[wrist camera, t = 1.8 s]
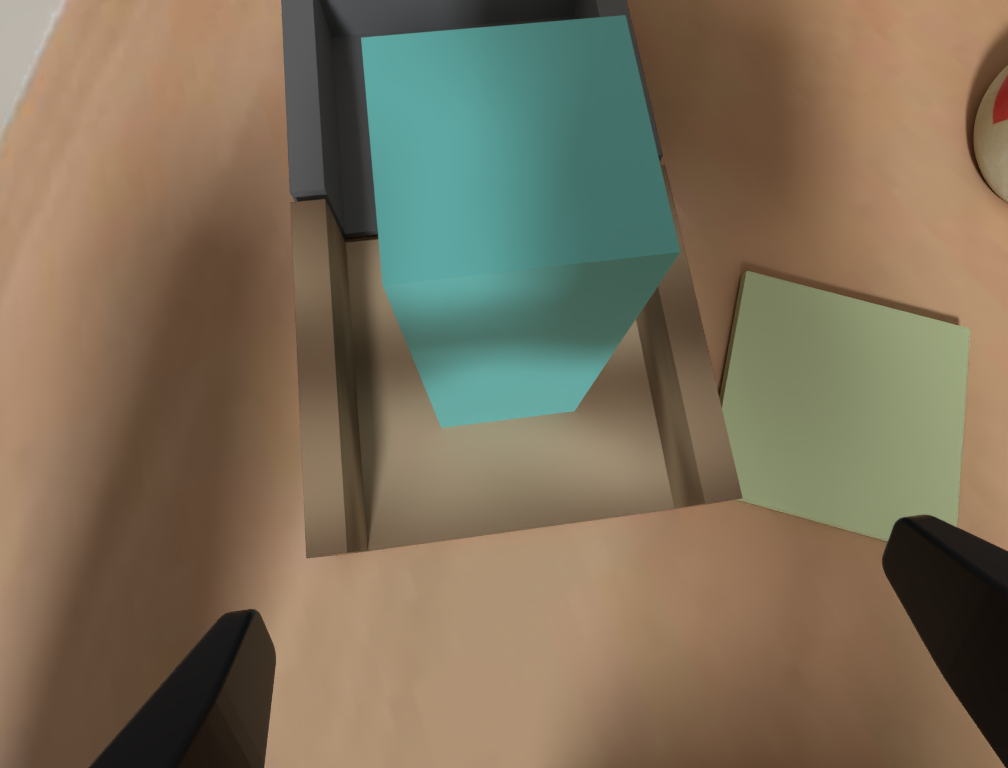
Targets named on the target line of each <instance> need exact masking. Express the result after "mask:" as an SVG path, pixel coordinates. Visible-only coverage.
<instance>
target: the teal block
mask: <svg viewBox="0 0 1008 768" xmlns="http://www.w3.org/2000/svg"><path fill="white" fill-rule="evenodd" d="M361 43H362V55H363V66H364V78H365V89H366V101H367V113H368V124H369V136H370V147H371V159H372V170H373V182H374V193H375V205H376V216H377V228H378V239H379V251H380V262H381V274H382V285H383V288H384V290H385V292H386V295H387V297H388V300H389V302H390V305H391V307H392V309H393V312H394V314H395V317H396V319H397V322H398V324H399V326H400V329H401V331H402V334H403V336H404V339H405V341H406V343H407V346H408V348H409V351H410V353H411V356H412V358H413V360H414V363H415V365H416V368H417V370H418V372H419V375H420V377H421V380H422V382H423V385H424V387H425V389H426V392H427V394H428V397H429V399H430V402H431V404H432V406H433V409H434V411H435V414H436V416H437V419H438V421H439V423H440V426H441V428H445V427H453V426H461V425H469V424H477V423H485V422H493V421H501V420H509V419H516V418H524V417H532V416H540V415H548V414H556V413H564V412H572V411H575V410H576V408H577V407H578V405H579V404H580V402H581V401H582V399H583V398H584V396H585V395H586V393H587V392H588V390H589V389H590V387H591V386H592V384H593V383H594V381H595V380H596V378H597V377H598V375H599V374H600V372H601V371H602V369H603V368H604V366H605V365H606V363H607V362H608V360H609V359H610V357H611V356H612V354H613V353H614V351H615V350H616V348H617V347H618V345H619V344H620V342H621V341H622V339H623V338H624V336H625V335H626V333H627V332H628V330H629V329H630V327H631V326H632V324H633V323H634V321H635V320H636V318H637V317H638V315H639V314H640V312H641V311H642V309H643V308H644V306H645V305H646V303H647V302H648V300H649V299H650V297H651V296H652V294H653V293H654V291H655V290H656V288H657V287H658V285H659V284H660V282H661V281H662V279H663V278H664V276H665V275H666V273H667V272H668V270H669V269H670V267H671V266H672V264H673V263H674V261H675V260H676V258H677V257H678V255H679V254H680V248H679V244H678V239H677V235H676V231H675V226H674V222H673V218H672V213H671V209H670V205H669V200H668V196H667V192H666V187H665V183H664V179H663V174H662V170H661V166H660V162H659V157H658V153H657V149H656V144H655V140H654V136H653V131H652V127H651V123H650V118H649V114H648V110H647V105H646V101H645V97H644V92H643V88H642V84H641V79H640V75H639V71H638V66H637V62H636V58H635V54H634V49H633V45H632V41H631V36H630V32H629V28H628V23H627V19H626V15H621V16H609V17H597V18H586V19H574V20H562V21H550V22H539V23H527V24H515V25H503V26H492V27H480V28H468V29H456V30H445V31H433V32H421V33H409V34H398V35H386V36H374V37H362V38H361Z"/></svg>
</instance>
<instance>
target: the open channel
mask: <svg viewBox="0 0 1008 768" xmlns="http://www.w3.org/2000/svg"><path fill="white" fill-rule="evenodd" d="M660 166H661V170H662V174H663V179H664V183H665V187H666V192H667V196H668V200H669V205H670V209H671V213H672V218H673V222H674V226H675V231H676V235H677V239H678V244H679V248H680V254H679V255H678V257H677V258H676V260H675V261H674V263H673V264H672V266H671V267H670V269H669V270H668V272H667V273H666V275H665V276H664V278H663V279H662V281H661V282H660V284H659V285H658V287H657V288H656V290H655V291H654V293H653V294H652V296H651V297H650V299H649V300H648V302H647V303H646V305H645V306H644V308H643V309H642V311H641V312H640V314H639V315H638V317H637V318H636V320H635V321H634V323H633V324H632V326H631V327H630V329H629V330H628V332H627V333H626V335H625V336H624V338H623V339H622V341H621V342H620V344H619V345H618V347H617V348H616V350H615V351H614V353H613V354H612V356H611V357H610V359H609V360H608V362H607V363H606V365H605V366H604V368H603V369H602V371H601V372H600V374H599V375H598V377H597V378H596V380H595V381H594V383H593V384H592V386H591V387H590V389H589V390H588V392H587V393H586V395H585V396H584V398H583V399H582V401H581V402H580V404H579V405H578V407H577V408H576V410H575V411H572V412H564V413H556V414H548V415H540V416H532V417H524V418H516V419H509V420H501V421H493V422H485V423H477V424H469V425H461V426H453V427H445V428H441V426H440V423H439V421H438V419H437V416H436V414H435V411H434V409H433V406H432V404H431V402H430V399H429V397H428V394H427V392H426V389H425V387H424V385H423V382H422V380H421V377H420V375H419V372H418V370H417V368H416V365H415V363H414V360H413V358H412V356H411V353H410V351H409V348H408V346H407V343H406V341H405V339H404V336H403V334H402V331H401V329H400V326H399V324H398V322H397V319H396V317H395V314H394V312H393V309H392V307H391V305H390V302H389V300H388V297H387V295H386V292H385V290H384V288H383V285H382V274H381V262H380V251H379V239H376V240H366V241H357V242H347V243H346V242H345V240H344V238H343V235H342V233H341V231H340V229H339V227H338V225H337V223H336V221H335V219H334V217H333V214H332V212H331V210H330V208H329V206H328V204H327V202H326V200H325V199H321V200H311V201H301V202H291V203H290V204H291V226H292V249H293V271H294V293H295V316H296V338H297V360H298V382H299V405H300V427H301V449H302V471H303V494H304V516H305V538H306V558H314V557H324V556H335V555H342V554H350V553H357V552H364V551H372V550H379V549H386V548H393V547H401V546H408V545H415V544H423V543H430V542H437V541H444V540H452V539H459V538H466V537H474V536H481V535H488V534H496V533H503V532H510V531H517V530H525V529H532V528H539V527H547V526H554V525H561V524H568V523H576V522H583V521H590V520H598V519H605V518H612V517H619V516H627V515H634V514H641V513H649V512H656V511H663V510H670V509H678V508H685V507H692V506H700V505H706V504H712V503H718V502H724V501H730V500H736V499H742V498H743V497H742V493H741V489H740V484H739V480H738V476H737V471H736V467H735V463H734V459H733V454H732V450H731V446H730V441H729V437H728V433H727V429H726V424H725V420H724V416H723V412H722V407H721V403H720V399H719V394H718V390H717V386H716V382H715V377H714V373H713V369H712V364H711V360H710V356H709V352H708V347H707V343H706V339H705V335H704V330H703V326H702V322H701V317H700V313H699V309H698V305H697V300H696V296H695V292H694V287H693V283H692V279H691V275H690V270H689V266H688V262H687V258H686V253H685V249H684V245H683V240H682V236H681V232H680V228H679V223H678V219H677V215H676V210H675V206H674V202H673V198H672V193H671V189H670V185H669V180H668V176H667V172H666V168H665V165H660Z"/></svg>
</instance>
